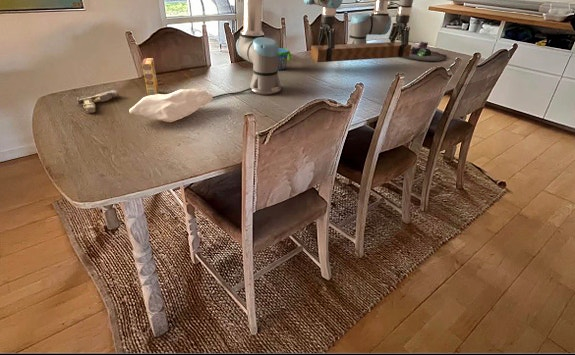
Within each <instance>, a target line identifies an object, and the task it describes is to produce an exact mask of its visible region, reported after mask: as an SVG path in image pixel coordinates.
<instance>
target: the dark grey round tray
mask: <svg viewBox="0 0 575 355" xmlns="http://www.w3.org/2000/svg"><path fill="white" fill-rule="evenodd" d="M428 46H429V42H427V41H420V43H419V45H417V47H416V46H411V50H410V54H409V57H404V58H406V59H411V60H415V61H416V60H417V61H425V62H437V61H443V60H447V55H446V54H444V53H440V52H438V51H433V50H431V48H428Z"/></svg>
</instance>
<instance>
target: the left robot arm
mask: <svg viewBox="0 0 575 355" xmlns="http://www.w3.org/2000/svg"><path fill="white" fill-rule="evenodd" d="M303 3H304V4H305V5H310V6H312V5H316V6H319V7H321V17H320V24H319V32H318V36H317V43H318V45H328V48H327V55H326V61H331V55H332V49H334V48H335V45H336V44H335V43H336V40H335V39H336V37H335V36H336V34H335V33H336V28H333V25H335V23H336V15H337V9H339V8H340V7H341V6H342V4H343V0H303ZM262 19H263V0H243V24H242V25H243V26H242V27H243V28H242V29H241V30H240V32H239V37H238V39H237V41H236V44H235V47H236V48H235V49H236V52H237V55H238V56H240V57H241V58H242V59H243V60H244V61H247V62H249V63H251V64H252V69H253V70H252V77H251V81H250V83H249V88H246V89H243V90H241V91H235V92H227V93H226V92H225V93H221V94H218V95H215V96H213V98H212V100H213V99H216V98H219V97H223V96H229V95H238V94H242V93H245V92H248V91H250V92H251V93H253V94H255V95H261V96H271V95H277V94H279V93H281V92H282V85H281V81H280V78H279V69H278V52H279V50H278V48H279V44H278V42H277V41H276V40H275V39H273V38H270V37H265V33H264V32H263V30H262V24H263V22H262ZM325 41H326V43H327V44H326V43H325Z"/></svg>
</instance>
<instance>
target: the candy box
mask: <svg viewBox="0 0 575 355" xmlns="http://www.w3.org/2000/svg"><path fill="white" fill-rule="evenodd" d="M141 66H142V73H143V78H144V82H145V87H146V92H147V96H150V95H156V94H159V91H160V90H159V84H158V79H157V73H156V66H155V62H154V58H153V57H151V58H150V57H149V58H146V57H145V58H143V60H142V63H141Z"/></svg>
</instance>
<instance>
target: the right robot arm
mask: <svg viewBox="0 0 575 355" xmlns="http://www.w3.org/2000/svg"><path fill="white" fill-rule="evenodd" d="M389 1H390V2H398V5H397V10H396V16H395V22H392V17H391V16H390V13H389V11H388V4H389ZM413 3H414V0H374V5H373V11H372V12H371V14H369V13H368V12H367V13H366V12H365V13H364V12H363V13H362V12H361V13H356V14H353V15H352V16H351V19H350V27H349V36H348V40H347V42H346V44H363V43H368V42H367V37H368V35H370V36H371V35H372V36H384V35H387V34H388V33H389V31H390V33H389V36H388V40H389V42H396V40H397V37H398V35H399V34H400V42H401V45H400V50H399V55H398V57H397V58H404V57H403V52H404V49H405V46H406V45H408V44H409V42H410V41H409V40H410V30H411V27H410V26H408V23H409V22H410V17H411V16H410V15H411V13H412V7H413ZM391 26H392V27H391ZM403 43H404V44H403ZM340 44H342V42H341V43H339V45H340Z"/></svg>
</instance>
